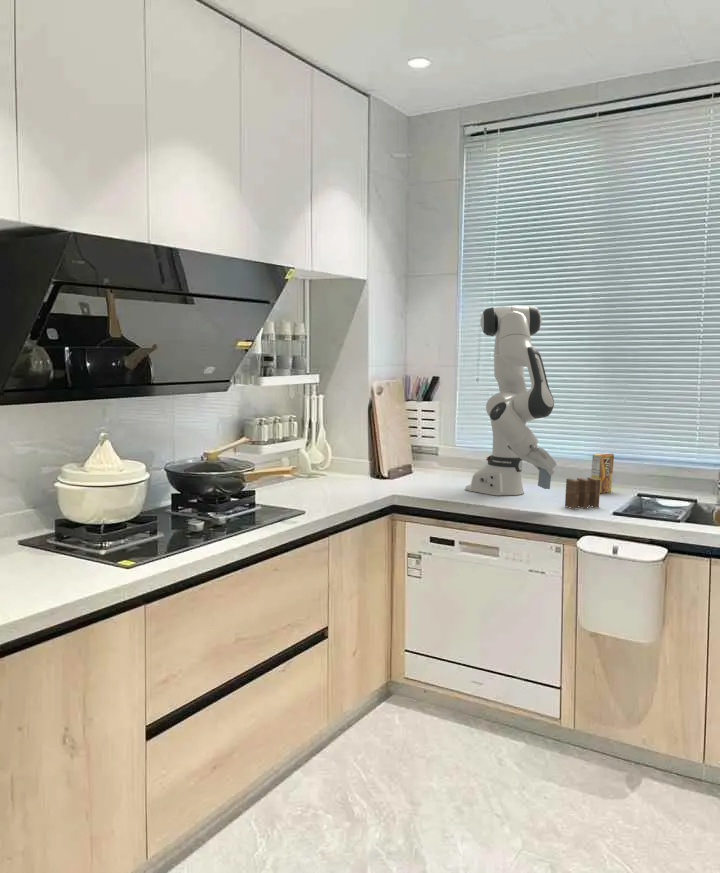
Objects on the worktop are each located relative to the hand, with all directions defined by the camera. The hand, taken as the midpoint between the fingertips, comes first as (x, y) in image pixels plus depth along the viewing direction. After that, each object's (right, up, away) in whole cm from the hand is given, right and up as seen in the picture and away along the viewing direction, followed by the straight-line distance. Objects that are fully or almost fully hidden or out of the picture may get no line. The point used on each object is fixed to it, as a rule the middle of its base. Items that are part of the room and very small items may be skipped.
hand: (547, 471), depth 271 cm
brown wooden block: (+19, -13, +12) cm, 26 cm away
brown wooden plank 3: (+15, -13, +10) cm, 22 cm away
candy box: (+30, -10, +39) cm, 51 cm away
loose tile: (-1, -5, +1) cm, 5 cm away
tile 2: (+11, -13, +8) cm, 19 cm away
